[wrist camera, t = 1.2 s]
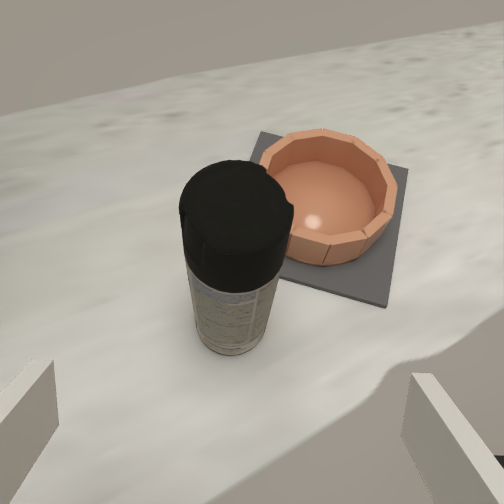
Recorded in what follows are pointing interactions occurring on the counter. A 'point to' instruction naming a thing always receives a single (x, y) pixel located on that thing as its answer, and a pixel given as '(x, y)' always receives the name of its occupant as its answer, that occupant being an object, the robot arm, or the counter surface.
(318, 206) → the bowl
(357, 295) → the mat
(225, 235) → the spray can
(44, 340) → the counter surface
